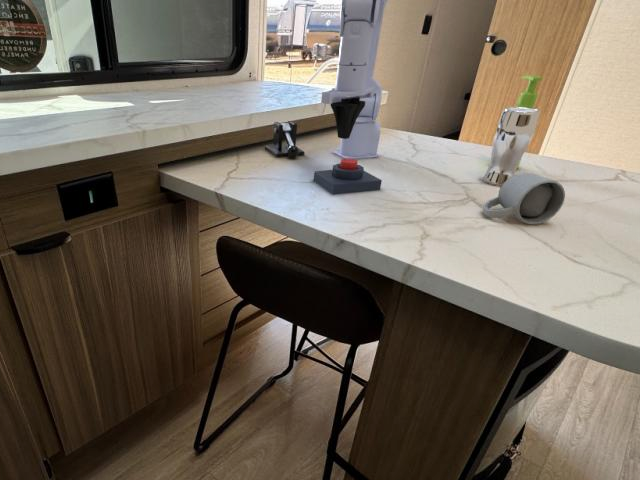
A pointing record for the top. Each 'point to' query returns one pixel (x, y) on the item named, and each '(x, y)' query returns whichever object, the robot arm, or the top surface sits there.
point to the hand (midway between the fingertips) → (343, 137)
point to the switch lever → (289, 141)
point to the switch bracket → (278, 147)
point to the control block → (346, 180)
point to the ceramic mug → (527, 199)
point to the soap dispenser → (529, 94)
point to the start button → (348, 164)
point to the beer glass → (510, 142)
